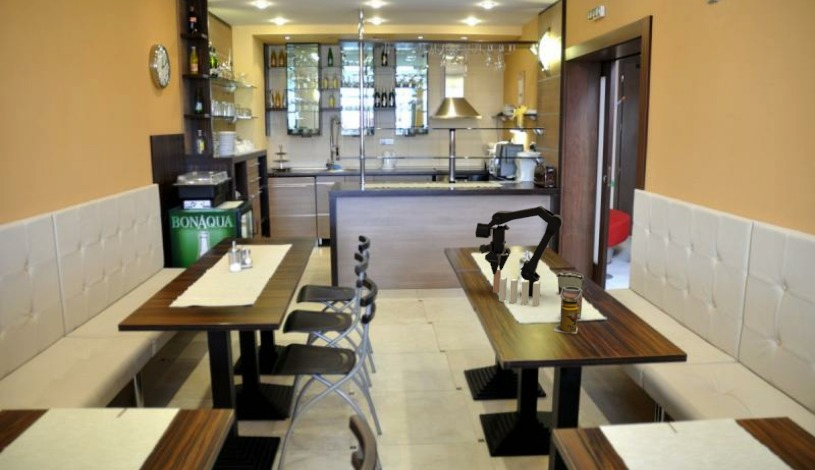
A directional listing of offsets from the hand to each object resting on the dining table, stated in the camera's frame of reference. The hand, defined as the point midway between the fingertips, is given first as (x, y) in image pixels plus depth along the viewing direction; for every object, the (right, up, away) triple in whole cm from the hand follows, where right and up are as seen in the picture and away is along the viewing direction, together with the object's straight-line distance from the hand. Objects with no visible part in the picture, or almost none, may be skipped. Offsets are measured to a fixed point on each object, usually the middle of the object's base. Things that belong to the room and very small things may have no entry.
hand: (497, 272), depth 284 cm
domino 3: (+5, -12, -14) cm, 19 cm away
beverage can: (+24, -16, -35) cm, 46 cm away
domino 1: (0, -9, +2) cm, 9 cm away
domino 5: (+14, -13, -19) cm, 27 cm away
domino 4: (+9, -13, -16) cm, 23 cm away
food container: (+33, -10, -1) cm, 35 cm away
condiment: (+19, -19, -50) cm, 57 cm away
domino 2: (+1, -12, -12) cm, 17 cm away
